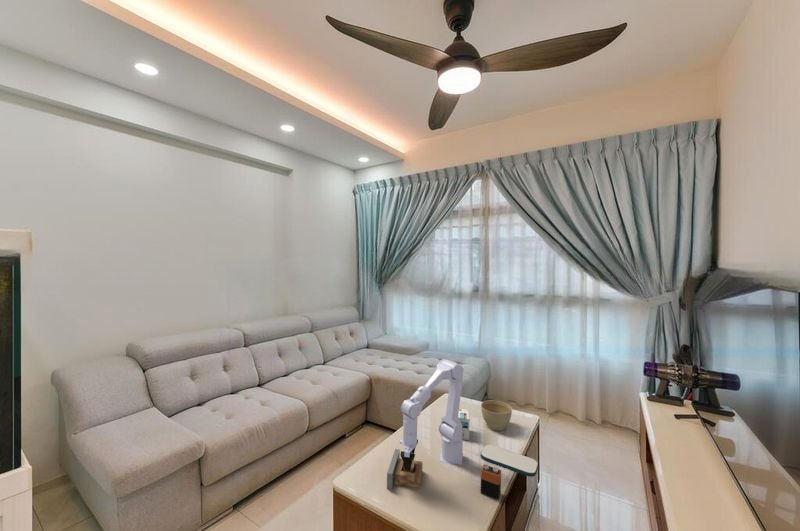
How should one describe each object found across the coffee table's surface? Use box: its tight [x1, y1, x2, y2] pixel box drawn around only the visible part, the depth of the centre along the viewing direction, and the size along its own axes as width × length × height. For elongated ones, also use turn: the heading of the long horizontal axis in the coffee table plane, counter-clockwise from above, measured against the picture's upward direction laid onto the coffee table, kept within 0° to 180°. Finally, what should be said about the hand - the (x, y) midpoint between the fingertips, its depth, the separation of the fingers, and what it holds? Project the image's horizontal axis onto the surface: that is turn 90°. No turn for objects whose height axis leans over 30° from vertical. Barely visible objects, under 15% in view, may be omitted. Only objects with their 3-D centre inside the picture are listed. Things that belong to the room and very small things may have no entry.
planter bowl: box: [480, 400, 513, 432], centre depth 169 cm, size 16×16×11 cm
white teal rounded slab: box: [480, 444, 539, 478], centre depth 140 cm, size 24×12×2 cm, turn 58°
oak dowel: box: [404, 453, 415, 473], centre depth 126 cm, size 4×4×8 cm
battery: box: [480, 464, 502, 500], centre depth 120 cm, size 4×7×10 cm, turn 61°
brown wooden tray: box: [393, 457, 424, 489], centre depth 126 cm, size 10×10×4 cm
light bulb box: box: [458, 408, 471, 441], centre depth 161 cm, size 11×7×11 cm, turn 168°
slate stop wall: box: [386, 448, 401, 490], centre depth 128 cm, size 2×16×6 cm, turn 170°
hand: (409, 464), depth 126 cm, fingers open, 7 cm apart
